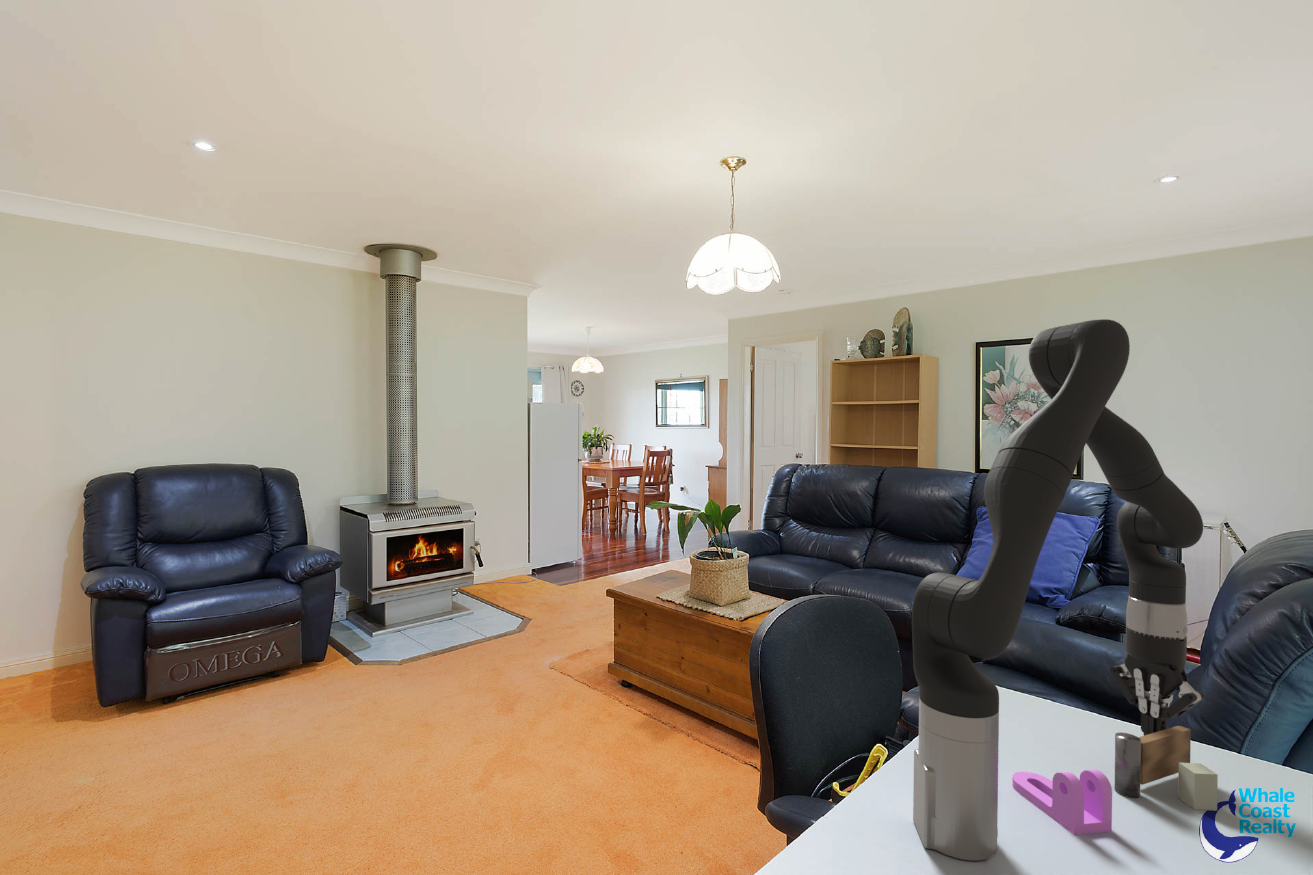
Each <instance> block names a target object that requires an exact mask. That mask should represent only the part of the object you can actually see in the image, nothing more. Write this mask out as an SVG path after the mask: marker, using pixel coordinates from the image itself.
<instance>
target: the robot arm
mask: <svg viewBox="0 0 1313 875" xmlns="http://www.w3.org/2000/svg"><path fill="white" fill-rule="evenodd" d="M1130 347H1131V346H1130V338H1129V334H1128V332H1127V330H1126V329H1125V327H1124V326H1123V325H1122V324H1121V323H1120V322H1118V321H1115V320H1114V319H1106V318H1105V319H1091V320H1085V321H1082V322H1076V323H1072V324H1071V323H1070V324H1066V325H1060V326H1055V327H1051V328H1048V329H1044V330H1042V331H1040V332H1039V333H1037V334H1035V336H1034V337H1033V339H1032V340H1031V343H1030V345H1029V348H1028V362H1029V366H1030V370H1031V371H1032V374H1033V376H1034V377H1035V379H1036V380H1037V382H1038V385H1040V387H1041V388H1042V389H1043V391H1044V392H1045V393H1046V395H1047V396H1048V397H1049V399H1051V400H1050V401H1049V402H1047V404H1046V405H1045V404H1044V406H1043V407H1042V408H1041V409H1039V410H1038V411H1037V412H1035V413H1034V414H1033V415H1032V416H1031V417H1029V418H1028V419H1027V420H1026V421H1025V422H1024V423H1022V424H1021V425H1020V426H1018V428H1017V429H1015V430H1014V431H1013V432H1012V433H1011V434H1010V435H1009V436H1008V437H1007V438H1006V440H1005V441H1004V442H1003V443H1002V444H1001V447H1000V448H999V450H998V452H997V454H996V455H995V456H996V457H995V459H994V460H993V463H992V465H991V467H990V470H989V471H988V474H987V476H986V478H985V480H984V486H983V496H984V504H985V508H986V513H987V516H988V520H989V524H990V528H991V533H992V546H991V551H990V553H989V554H990V555H989V557H988V561H987V563H986V566H985V568H984V570H983V573H982V574H981V576H980V578H979V579H973V578H969V577H965V576H960V575H957V574H951V573H946V572H934V573H931V574H928V575H926V576H925V577H923V579H922V580H920V583H918V586H917V587H916V589H915V590H916V591H915V593H914V596H913V600H912V606H911V633H912V634H911V636H912V659H913V660H912V661H913V665H912V666H913V672H914V677H915V680H916V682H917V685H918V696H919V697H918V699H919V700H918V749H914V751H913V793H912V794H913V798H912V800H913V801H912V802H913V807H912V811H913V812H912V813H913V814H912V820H913V823H914V826H915V828H916V831H917V833H918V836H919V838H920V840H921V843H922V845H923V847H924V848H925V849H928V850H929V849H932V850H935V851H938V852H940V853H942V854H944V855H945V856H948V857H951V858H955V859H959V860H962V861H963V860H964V861H984V860H988V859H990V858H992V857H994V855H996V853H997V851H998V837H999V834H998V833H999V832H998V831H999V830H998V815H999V813H998V812H999V810H998V809H999V808H998V806H999V798H998V797H999V746H1000V745H999V736H1000V729H999V728H1000V693H999V689H998V687H997V685H996V684H995V683H994V681H993V680H992V679H991V678H989V677H988V676H987V675H986V674H984V673H983V672H982V671H981V670H980V669H979V668H978V667H977V666H976V665H975V663H974V662H973V661H972V660H971V658H970V657H969V656H971V657H974V658H977V659H981V660H984V661H988V660H989V661H990V660H993V659H996V658H998V657H999V656H1001V655H1002V654H1003V653H1004V652H1005V651H1006V649H1007V648H1008V647H1009V645H1010V643H1011V641H1012V640H1013V637H1014V635H1015V632H1016V630H1017V628H1018V625H1019V622H1020V619H1021V615H1022V614H1023V609H1024V606H1025V602H1026V599H1027V596H1028V592H1029V588H1030V585H1031V583H1032V582H1031V581H1032V580H1033V579H1032V578H1033V576H1034V575H1033V574H1034V572H1035V568H1036V566H1037V564H1038V559H1039V557H1040V554H1041V551H1042V548H1043V547H1044V544H1045V541H1046V539H1047V536H1048V534H1049V532H1050V529H1051V526H1052V525H1053V522H1054V519H1055V517H1056V515H1057V513H1058V511H1059V508H1060V506H1061V505H1062V503H1063V500H1064V498H1065V495H1066V493H1067V491H1068V488H1069V487H1070V484H1071V482H1072V480H1073V477H1074V473H1075V471H1076V469H1077V465H1078V462H1079V460H1080V458H1081V456H1082V453H1083V451H1084V448H1085V447H1086V446H1088V448H1089V450H1090V451H1091V453H1092V455H1093V456H1094V458H1095V460H1096V462H1097V464H1098V465H1099V468H1100V470H1101V471H1102V473H1103V475H1104V477H1105V479H1106V481H1107V483H1108V485H1109V487H1110V488H1111V490H1112V492H1113V493H1114V495H1115V496H1116V497H1117V498H1118V499H1120V500H1122V501H1124V503H1123V504H1122V506H1121V507H1120V509H1119V511H1118V512H1117V517H1116V528H1117V533H1118V536H1119V539H1120V542H1121V546H1122V548H1123V553H1124V557H1125V559H1126V563H1127V566H1128V573H1129V575H1128V578H1129V579H1128V600H1127V604H1126V612H1125V613H1126V614H1125V615H1126V616H1125V618H1126V619H1125V623H1126V624H1125V652H1126V653H1127V654H1126V656H1125V657H1124V660H1123V663H1122V664H1119V665H1114V666H1113V665H1112V666H1110V667H1109V672H1110V674H1111V675H1112V677H1113V679H1114V681H1115V682H1116V684H1117V686H1118V687H1119V688H1120V690H1121V692H1122V693H1123V696H1124V697H1125V698H1126V700H1127V702H1128V703H1129V704H1130V705H1134V706H1135V707H1136V708H1138V709H1139V711H1140V730H1141V732H1142V733H1143V736H1144V735H1148V734H1151V733H1155V732H1158V731H1162V730H1165V729H1167V719H1168V720H1170V719H1172V718H1179V717H1181V716H1183V715H1184V714H1186V713H1187V712H1189V710H1191V709H1193V707H1195V706H1196V705H1198V704H1199V703H1201V702H1202V701H1203V700H1204V699H1205V695H1204V693H1203V692H1201V691H1196V690H1195V689H1194V688H1193V687H1192V686H1191V685H1190V684H1189V681H1188V680H1189V677H1188V675H1187V673H1186V669H1185V667H1186V663H1187V653H1188V650H1187V647H1188V612H1187V605H1186V601H1187V594H1186V593H1187V573H1186V570H1185V569H1184V568H1185V567H1183V566H1182V565H1180V564H1178V563H1176V562H1173V561H1171V560H1169V559H1166V558H1164V557H1163V556H1161V554H1160V552H1159V550H1158V548H1157V546H1158V547H1159V546H1160V547H1165V548H1171V549H1188V548H1190V547H1192V546H1194V545H1196V544H1198V542H1199V541H1200V539H1201V537H1202V535H1203V532H1204V522H1203V519H1202V514H1200V511H1199V509H1198V508H1197V506H1196V505H1195V503H1193V501H1192V500H1191V499H1190V498H1189V497H1188V496H1187V495H1186V494H1185V493H1184V492H1183V491H1182V489H1180V487H1178V486H1177V484H1176V483H1175V482H1173V481H1172V479H1170V478H1169V477H1168V476H1167V475H1166V473H1165V471H1164V469H1163V467H1162V465H1161V463H1160V461H1159V459H1158V457H1157V455H1156V453H1155V451H1154V449H1153V447H1152V446H1151V444H1150V442H1149V441H1148V439H1146V437H1145V436H1144V435H1143V434H1142V433H1141V432H1140V431H1138V429H1136V428H1135V427H1134V426H1133V425H1131V424H1130V423H1128V422H1127V421H1125V420H1124V419H1123V418H1122V417H1120V416H1119V415H1118V414H1116V413H1115V412H1113V411H1112V410H1111V409H1109V408H1108V407H1107V406H1106V405H1107V404H1108V402H1109V401H1110V398H1111V397H1112V395H1113V393H1114V392H1115V390H1116V389H1117V386H1118V384H1119V383H1120V381H1121V379H1122V377H1123V375H1124V373H1125V370H1126V368H1127V365H1128V362H1129V357H1130V351H1131V350H1130ZM1179 690H1180V691H1179ZM1178 691H1179V692H1178ZM1177 692H1178V699H1177V700H1176V701H1175V702H1172V701H1173V699H1174V695H1175V694H1176V693H1177ZM1171 703H1172V704H1171Z"/></svg>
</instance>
